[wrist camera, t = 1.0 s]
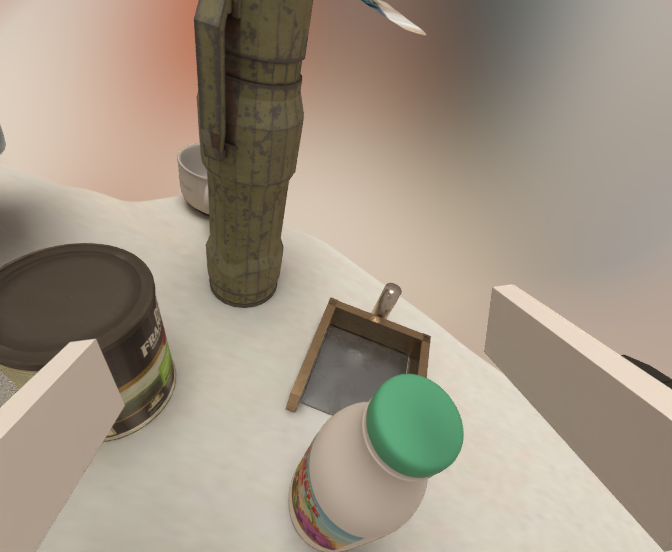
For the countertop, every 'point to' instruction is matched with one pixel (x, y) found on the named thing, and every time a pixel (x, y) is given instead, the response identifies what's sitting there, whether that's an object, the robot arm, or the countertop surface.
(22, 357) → the coffee can
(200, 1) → the thermos
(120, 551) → the countertop surface
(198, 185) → the teacup
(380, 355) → the dustpan
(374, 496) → the milk bottle
